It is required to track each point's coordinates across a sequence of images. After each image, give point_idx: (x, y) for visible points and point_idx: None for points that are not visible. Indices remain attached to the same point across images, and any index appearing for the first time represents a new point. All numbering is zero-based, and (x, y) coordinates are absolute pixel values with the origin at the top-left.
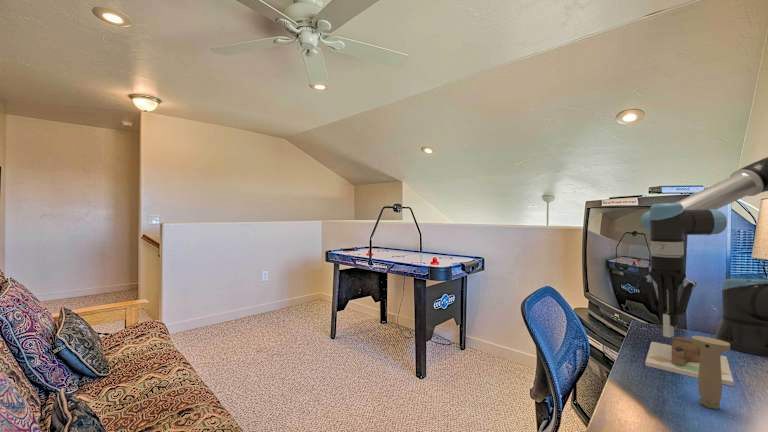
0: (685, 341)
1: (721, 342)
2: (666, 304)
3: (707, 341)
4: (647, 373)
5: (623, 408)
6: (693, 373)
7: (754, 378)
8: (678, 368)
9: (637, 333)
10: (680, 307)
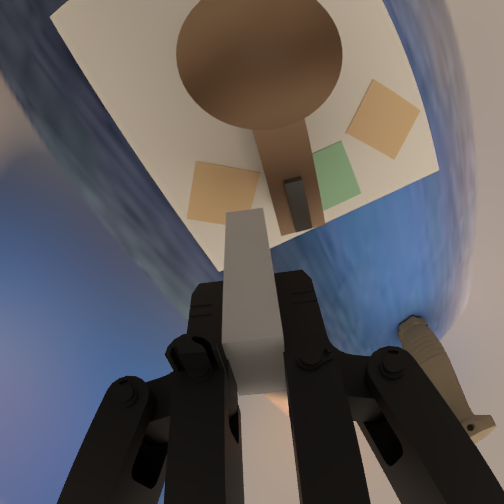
0: (261, 68)
1: (482, 434)
2: (228, 447)
3: None
4: None
5: None
6: (350, 210)
7: (438, 17)
8: None
9: None
10: (397, 453)
